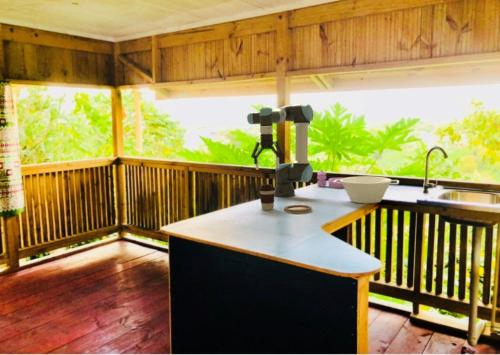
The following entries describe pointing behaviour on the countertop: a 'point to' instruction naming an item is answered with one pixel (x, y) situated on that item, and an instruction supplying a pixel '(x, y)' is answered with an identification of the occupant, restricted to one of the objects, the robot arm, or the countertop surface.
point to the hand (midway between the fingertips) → (267, 168)
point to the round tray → (297, 209)
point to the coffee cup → (267, 196)
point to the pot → (366, 188)
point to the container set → (322, 181)
